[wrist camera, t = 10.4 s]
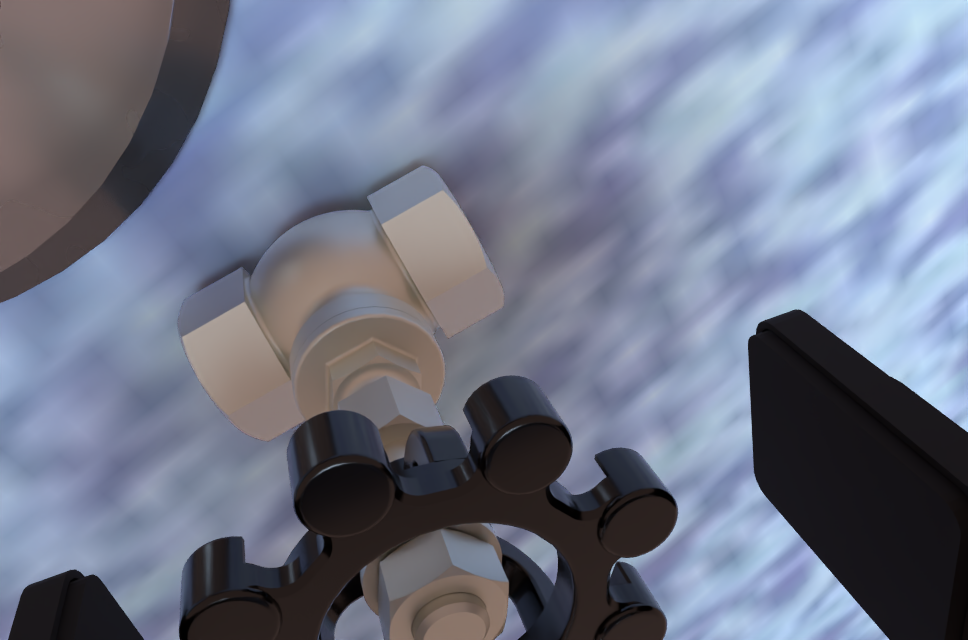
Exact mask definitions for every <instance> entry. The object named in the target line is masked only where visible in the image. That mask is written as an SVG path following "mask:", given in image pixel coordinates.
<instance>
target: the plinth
mask: <svg viewBox="0 0 968 640" xmlns="http://www.w3.org/2000/svg"><path fill="white" fill-rule="evenodd" d="M229 1H230V0H175V7H174V14H173V21H172V28H171V33H170V37H169V40H168V44H167V47H166V50H165V54H164V57H163V61H162V64H161V67H160V71H159V74H158V78H157V81H156V84H155V87H154V90H153V93H152V96H151V98H150V100H149V102H148V104H147V106H146V108H145V111H144V113H143V115H142V117H141V119H140V121H139V124H138V126H137V128H136V130H135V132H134V134H133V137H132V139H131V141H130V143H129V145H128V146H127V148H126V149H125V151H124V152H123V154H122V155H121V157H120V158H119V160H118V161H117V163H116V164H115V166H114V167H113V169H112V170H111V172H110V173H109V175H108V176H107V178H106V179H105V181H104V182H103V184H102V185H101V187H100V188H99V189H98V190H97V191H96V192H95V193H94V194H93V195H92V196H91V198H90V199H89V200H88V201H87V202H86V203H85V204H84V205H83V206H82V207H81V209H80V210H79V211H78V212H77V213H76V214H75V215H74V216H73V217H72V218H71V220H70V221H69V222H68V223H67V224H66V225H65V226H63V227H62V228H61V229H60V230H58V231H57V232H56V233H55V234H54V235H52V236H51V237H50V238H49V239H48V240H46V241H45V242H44V243H43V244H41V245H40V246H39V247H38V248H37V249H35V250H34V251H33V252H32V253H30V254H29V255H28V256H27V257H25V258H23V259H22V260H20V261H18V262H17V263H15V264H14V265H12V266H10V267H9V268H7V269H5V270H4V271H2V272H0V303H1V302H3V301H6V300H9V299H11V298H14V297H16V296H18V295H20V294H21V293H23V292H25V291H27V290H29V289H31V288H32V287H34V286H36V285H38V284H40V283H42V282H43V281H45V280H47V279H49V278H51V277H53V276H54V275H56V274H58V273H60V272H62V271H63V270H65V269H66V268H67V267H69V266H70V265H71V264H73V263H74V262H75V261H77V260H78V259H80V258H81V257H82V256H84V255H85V254H86V253H88V252H89V251H90V250H92V249H93V248H95V247H96V246H97V245H99V244H100V243H101V242H103V241H104V240H105V239H106V238H107V237H108V236H109V235H110V234H111V233H112V232H113V231H114V230H115V229H116V228H117V227H118V226H119V225H120V224H121V223H122V222H123V221H125V220H126V219H127V218H128V217H129V216H130V215H131V214H132V213H133V212H134V211H135V210H136V209H137V208H138V207H139V206H140V205H141V204H142V202H143V201H144V200H145V198H146V197H147V196H148V194H149V193H150V192H151V191H152V189H153V188H154V187H155V185H156V184H157V183H158V181H159V180H160V179H161V177H162V176H163V175H164V173H165V172H166V171H167V169H168V168H169V167H170V166H171V164H172V163H173V161H174V159H175V157H176V155H177V154H178V152H179V150H180V148H181V146H182V144H183V143H184V141H185V139H186V137H187V135H188V134H189V132H190V130H191V128H192V126H193V124H194V123H195V121H196V119H197V117H198V114H199V112H200V109H201V106H202V104H203V101H204V98H205V96H206V93H207V90H208V88H209V85H210V82H211V80H212V77H213V74H214V71H215V69H216V66H217V61H218V57H219V52H220V48H221V43H222V39H223V34H224V30H225V25H226V20H227V16H228V11H229Z"/></svg>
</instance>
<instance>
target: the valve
mask: <svg viewBox="0 0 968 640" xmlns="http://www.w3.org/2000/svg"><path fill="white" fill-rule="evenodd" d="M367 198H368V200H369V202H370V204H371V206H372V209H371V210H370V211H365V210H341V211H334V212H329V213H324V214H321V215H318V216H315V217H312V218H310V219H307V220H305V221H303V222H301V223H299V224H297V225H296V226H294V227H293V228H291V229H289V230H288V231H287V232H285V233H284V234H283V235H282V236H280V237H279V238H278V239H277V240H276V241H275V242H274V243H273V244H272V245H271V246H270V247H269V248H268V250H267V251H266V252H265V253H264V255H263V256H262V258H261V259H260V261H259V262H258V264H257V266H256V268H255V270H254V272H253V274H252V276H251V275H250V274H249V273H248V272H247V271H246V270H245V269H244V268H243V267H241V268H239V269H237V270H236V271H234V272H232V273H230V274H229V275H227V276H225V277H223V278H221V279H220V280H218V281H216V282H214V283H213V284H211V285H209V286H207V287H205V288H204V289H202V290H200V291H198V292H197V293H195V294H193V295H191V296H189V297H188V298H186V299H185V300H184V302H183V304H182V307H181V309H180V312H179V316H178V332H179V336H180V340H181V343H182V346H183V349H184V351H185V354H186V356H187V358H188V360H189V363H190V365H191V367H192V369H193V371H194V372H195V374H196V376H197V378H198V380H199V381H200V383H201V385H202V386H203V388H204V389H205V391H206V392H207V394H208V395H209V397H210V398H211V400H212V401H213V402H214V404H215V405H216V406H217V407H218V409H219V410H220V411H221V412H222V414H223V415H224V416H225V417H226V418H227V419H228V420H229V421H230V422H231V423H232V424H233V425H234V426H235V427H236V428H238V429H239V430H240V431H242V432H243V433H245V434H247V435H249V436H251V437H253V438H256V439H260V440H263V441H268V442H269V441H270V440H272V439H274V438H276V437H277V436H279V435H281V434H283V433H284V432H286V431H288V430H290V429H291V428H293V427H295V426H297V425H298V424H300V423H302V422H304V421H305V422H304V423H303V424H302V425H301V426H300V427H299V428H298V429H297V430H296V431H295V433H294V434H293V436H292V438H291V439H290V442H289V445H288V449H287V461H288V469H289V477H290V485H291V492H292V500H293V508H294V511H295V514H296V516H297V518H298V519H299V521H300V522H301V523H302V524H303V525H304V526H305V527H306V528H307V529H308V530H309V531H308V532H307V533H306V534H305V535H304V536H303V537H302V539H301V540H300V541H299V543H298V544H297V545H296V547H295V548H294V549H293V551H292V552H291V554H290V555H289V557H288V559H287V561H286V562H285V564H284V566H282V567H278V568H264V567H261V566H257V565H254V564H249V563H245V550H244V540H243V538H242V537H237V536H231V537H225V538H220V539H216V540H213V541H211V542H209V543H207V544H205V545H203V546H201V547H200V548H199V549H197V550H196V551H195V552H194V553H193V554H192V555H191V556H190V557H189V559H188V560H187V562H186V564H185V565H184V568H183V571H182V582H181V601H180V620H179V637H180V640H334V630H335V626H336V623H337V621H338V619H339V617H340V616H341V614H342V613H343V612H344V610H345V609H346V608H347V607H348V606H349V605H350V604H352V603H353V602H354V601H356V600H357V599H359V598H361V597H362V596H364V598H365V600H366V602H367V604H368V606H369V607H370V608H371V610H372V611H373V612H374V613H375V614H376V615H378V616H379V618H380V622H381V627H382V631H383V635H384V640H494V639H495V638H496V637H497V636H499V635H500V634H501V633H502V632H503V629H504V625H505V621H506V616H507V608H508V596H509V598H510V599H511V600H512V602H513V603H514V605H515V607H516V609H517V611H518V613H519V616H520V618H521V620H522V623H523V625H524V627H525V630H526V633H525V634H523V635H522V636H521V637H520V638H519V639H518V640H663V638H664V636H665V634H666V630H667V619H666V617H665V614H664V613H663V611H662V610H661V608H660V606H659V605H658V603H657V602H656V600H655V598H654V597H653V595H652V594H651V592H650V591H649V589H648V587H647V586H646V584H645V583H644V581H643V579H642V578H641V576H640V575H639V573H638V572H637V570H636V569H635V568H634V567H633V566H632V565H629V564H627V563H625V562H618V561H617V560H618V559H619V558H621V557H623V558H630V557H637V556H640V555H643V554H646V553H648V552H650V551H652V550H653V549H655V548H656V547H658V546H659V545H660V544H662V543H663V542H664V541H665V540H666V539H667V537H668V536H669V535H670V533H671V532H672V531H673V529H674V526H675V524H676V521H677V516H678V507H677V503H676V501H675V499H674V497H673V496H672V494H671V493H670V492H669V491H668V489H667V488H666V487H665V485H664V484H663V483H662V481H661V480H660V479H659V478H658V476H657V475H656V474H655V472H654V471H653V470H652V469H651V467H650V466H649V465H648V463H647V462H646V461H645V460H644V458H643V457H642V456H641V455H640V454H639V453H637V452H636V451H634V450H631V449H627V448H612V449H608V450H605V451H602V452H600V453H598V454H596V455H595V460H596V462H597V463H598V465H599V466H600V468H601V469H602V471H603V472H604V474H605V475H606V478H605V479H603V480H602V481H601V482H600V483H599V484H598V485H597V486H596V487H594V488H593V489H592V490H590V491H588V492H586V493H583V494H580V495H571V493H570V492H569V491H568V490H567V489H566V488H564V487H563V486H562V485H561V484H559V483H558V482H557V481H556V479H558V478H559V477H560V475H561V474H562V473H563V472H564V470H565V469H566V467H567V465H568V463H569V461H570V459H571V455H572V448H573V443H572V437H571V434H570V432H569V430H568V428H567V427H566V425H565V424H564V422H563V421H562V419H561V418H560V416H559V415H558V413H557V412H556V410H555V409H554V407H553V406H552V404H551V403H550V401H549V400H548V398H547V397H546V396H545V394H544V393H543V391H542V389H541V388H540V387H539V386H538V385H537V384H536V383H535V382H533V381H531V380H530V379H527V378H525V377H521V376H503V377H498V378H495V379H493V380H490V381H489V382H487V383H485V384H483V385H482V386H480V387H479V388H478V389H477V390H476V391H475V392H473V394H472V395H471V396H470V398H469V399H468V400H467V402H466V404H465V406H464V408H463V411H464V413H465V415H466V418H467V420H468V422H469V424H470V426H471V428H472V430H473V431H472V435H471V443H470V451H469V454H468V451H467V449H466V447H465V445H464V443H463V441H462V439H461V437H460V435H459V434H458V432H457V431H456V430H455V429H454V428H453V427H451V426H448V425H444V424H443V422H442V420H441V417H440V415H439V413H438V411H437V408H436V406H435V405H436V403H437V401H438V400H439V398H440V396H441V393H442V389H443V386H444V381H445V362H444V358H443V354H442V351H441V349H440V347H439V345H438V343H437V341H436V339H435V337H434V334H435V332H436V330H437V329H438V328H442V330H443V331H444V333H445V335H446V336H447V338H448V339H449V338H450V337H452V336H454V335H456V334H457V333H459V332H461V331H463V330H464V329H466V328H468V327H470V326H471V325H473V324H475V323H477V322H478V321H480V320H482V319H484V318H485V317H487V316H489V315H491V314H492V313H494V312H496V311H498V310H499V309H501V308H503V307H504V291H503V288H502V285H501V283H500V281H499V278H498V276H497V274H496V272H495V270H494V268H493V266H492V264H491V262H490V260H489V258H488V256H487V254H486V252H485V250H484V248H483V247H482V245H481V243H480V241H479V239H478V237H477V236H476V234H475V232H474V230H473V228H472V227H471V225H470V223H469V221H468V220H467V218H466V216H465V215H464V213H463V211H462V209H461V208H460V206H459V204H458V203H457V201H456V200H455V198H454V196H453V195H452V193H451V192H450V190H449V188H448V187H447V185H446V184H445V183H444V181H443V180H442V178H441V177H440V176H439V174H438V173H437V172H436V171H435V170H433V169H431V168H429V167H427V166H424V165H422V166H420V167H419V168H417V169H415V170H413V171H412V172H410V173H408V174H406V175H404V176H403V177H401V178H399V179H397V180H396V181H394V182H392V183H390V184H388V185H387V186H385V187H383V188H381V189H380V190H378V191H376V192H374V193H372V194H371V195H369V196H367ZM490 523H496V524H503V525H510V526H514V527H518V528H522V529H525V530H528V531H530V532H533V533H535V534H536V535H538V536H540V537H541V538H543V539H544V540H546V541H547V542H549V543H550V544H552V545H553V546H554V547H555V548H556V550H557V555H558V573H557V579H556V583H555V586H554V584H553V583H552V582H551V580H550V579H549V578H548V576H547V575H546V574H545V573H544V572H543V571H542V570H541V568H540V567H539V566H538V565H537V564H536V563H535V562H533V561H532V560H531V559H530V558H529V557H528V556H527V555H525V554H524V553H523V552H522V551H520V550H519V549H518V548H516V547H515V546H513V545H512V544H510V543H509V542H507V541H505V540H503V539H501V538H499V537H498V536H496V535H495V533H494V531H493V528H492V526H491V524H490ZM616 561H617V562H616ZM615 562H616V564H615V567H614V569H613V572H612V574H611V577H610V571H611V568H612V566H613V564H614V563H615Z"/></svg>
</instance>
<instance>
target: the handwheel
mask: <svg viewBox="0 0 968 640" xmlns="http://www.w3.org/2000/svg"><path fill="white" fill-rule="evenodd" d="M174 7H175V0H0V272H2V271H4V270H5V269H7V268H9V267H10V266H12V265H14V264H15V263H17V262H18V261H20V260H22V259H23V258H25V257H27V256H28V255H29V254H30V253H32V252H33V251H34V250H35V249H37V248H38V247H39V246H40V245H41V244H43V243H44V242H45V241H46V240H48V239H49V238H50V237H51V236H52V235H54V234H55V233H56V232H57V231H58V230H60V229H61V228H62V227H63V226H65V225H66V224H67V223H68V222H69V221H70V220H71V218H72V217H73V216H74V215H75V214H76V213H77V212H78V211H79V210H80V209H81V207H82V206H83V205H84V204H85V203H86V202H87V201H88V200H89V199H90V198H91V196H92V195H93V194H94V193H95V192H96V191H97V190H98V189H99V188H100V187H101V185H102V184H103V182H104V181H105V179H106V178H107V176H108V175H109V173H110V172H111V170H112V169H113V167H114V166H115V164H116V163H117V161H118V160H119V158H120V157H121V155H122V154H123V152H124V151H125V149H126V148H127V146H128V145H129V143H130V141H131V139H132V137H133V134H134V132H135V130H136V128H137V126H138V124H139V121H140V119H141V117H142V115H143V113H144V111H145V108H146V106H147V104H148V102H149V100H150V98H151V96H152V93H153V90H154V87H155V84H156V81H157V78H158V74H159V71H160V67H161V64H162V61H163V57H164V54H165V50H166V47H167V44H168V40H169V37H170V33H171V28H172V21H173V14H174Z"/></svg>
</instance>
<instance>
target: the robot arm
mask: <svg viewBox="0 0 968 640" xmlns="http://www.w3.org/2000/svg"><path fill="white" fill-rule="evenodd" d="M748 355H749V376H750V397H751V419H752V440H753V462H754V474H755V477H756V480H757V483H758V485H759V487H760V489H761V490H762V492H763V493H764V495H765V496H766V497H767V498H768V500H769V501H770V502H771V503H772V504H773V505H774V506H775V508H776V509H777V510H778V511H779V512H780V513H781V515H782V516H783V517H784V518H785V519H786V520H787V522H788V523H789V524H790V525H791V526H792V527H793V528H794V530H795V531H796V532H797V533H798V534H799V535H800V537H801V538H802V539H803V540H804V541H805V542H806V544H807V545H808V546H809V547H810V548H811V549H812V550H813V552H814V553H815V554H816V555H817V556H818V557H819V559H820V560H821V561H822V562H823V563H824V564H825V565H826V567H827V568H828V569H829V570H830V571H831V572H832V574H833V575H834V576H835V577H836V578H837V579H838V581H839V582H840V583H841V584H842V585H843V586H844V587H845V589H846V590H847V591H848V592H849V593H850V594H851V596H852V597H853V598H854V599H855V600H856V601H857V603H858V604H859V605H860V606H861V607H862V608H863V609H864V611H865V612H866V613H867V614H868V615H869V616H870V618H871V619H872V620H873V621H874V622H875V623H876V624H877V626H878V627H879V628H880V629H881V630H882V631H883V633H884V634H885V635H886V636H887V637H888V638H889V640H968V432H966V431H965V430H964V429H962V428H961V427H960V426H958V425H957V424H956V423H954V422H953V421H952V420H950V419H949V418H948V417H946V416H945V415H944V414H942V413H941V412H940V411H939V410H937V409H936V408H935V407H933V406H932V405H931V404H929V403H928V402H927V401H925V400H924V399H923V398H921V397H920V396H919V395H917V394H916V393H915V392H913V391H912V390H911V389H909V388H908V387H907V386H905V385H904V384H903V383H901V382H899V381H898V380H896V379H894V378H892V377H890V376H888V375H887V374H886V373H885V372H883V371H882V370H881V369H879V368H878V367H877V366H875V365H874V364H873V363H871V362H870V361H869V360H867V359H866V358H865V357H863V356H862V355H861V354H859V353H858V352H857V351H855V350H854V349H853V348H851V347H850V346H849V345H848V344H846V343H845V342H844V341H842V340H841V339H840V338H838V337H837V336H836V335H834V334H833V333H832V332H830V331H829V330H828V329H826V328H825V327H824V326H822V325H821V324H820V323H818V322H817V321H816V320H815V319H813V318H812V317H811V316H809V315H808V314H807V313H805V312H803V311H801V310H793V311H790V312H787V313H784V314H781V315H779V316H776V317H773V318H770V319H768V320H765V321H762V322H760V323H759V324H758V326H757V329H756V335H753V336H751V337H750V338H749V341H748ZM8 640H144V639H143V637H142V636H141V635H140V633H139V632H138V631H137V629H136V628H135V626H134V625H133V624H132V622H131V621H130V620H129V618H128V617H127V615H126V614H125V613H124V611H123V610H122V609H121V607H120V606H119V604H118V603H117V602H116V600H115V599H114V598H113V596H112V595H111V593H110V592H109V591H108V589H107V588H106V587H105V585H104V584H103V582H102V581H101V580H100V579H99V578H98V577H97V576H95V575H89V576H86V577H85V576H84V575H83V574H82V573H81V572H79V571H77V570H70V571H67V572H64V573H61V574H58V575H56V576H53V577H50V578H47V579H45V580H42V581H39V582H36V583H33V584H31V585H28V586H27V587H26V588H25V589H24V590H23V593H22V595H21V597H20V601H19V604H18V608H17V611H16V614H15V618H14V621H13V625H12V628H11V632H10V635H9V638H8Z"/></svg>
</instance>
